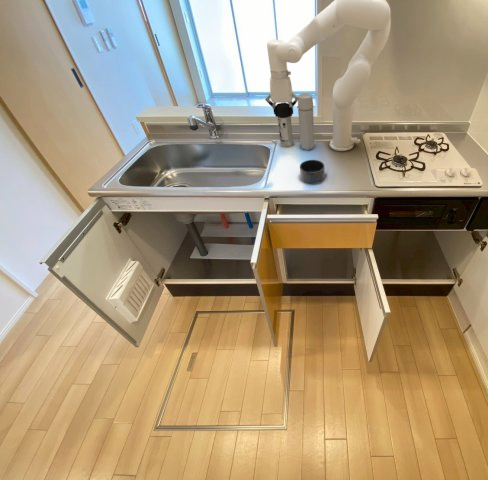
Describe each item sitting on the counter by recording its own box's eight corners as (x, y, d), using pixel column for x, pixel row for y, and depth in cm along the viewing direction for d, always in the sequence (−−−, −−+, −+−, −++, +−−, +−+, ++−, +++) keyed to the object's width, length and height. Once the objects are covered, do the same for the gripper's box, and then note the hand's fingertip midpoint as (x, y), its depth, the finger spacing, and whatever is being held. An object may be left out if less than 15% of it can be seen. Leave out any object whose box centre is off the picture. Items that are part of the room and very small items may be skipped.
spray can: (279, 142, 144) (274, 103, 129) (291, 140, 145) (287, 101, 131) (282, 148, 139) (277, 108, 125) (295, 145, 141) (291, 106, 127)
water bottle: (316, 149, 137) (314, 98, 119) (301, 151, 137) (297, 99, 119) (313, 141, 144) (311, 91, 126) (299, 143, 143) (295, 92, 125)
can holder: (324, 170, 124) (324, 159, 120) (324, 183, 116) (324, 172, 112) (301, 170, 124) (300, 160, 120) (300, 184, 117) (299, 173, 113)
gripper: (299, 71, 121) (301, 112, 134) (261, 72, 121) (267, 113, 134) (298, 76, 116) (301, 118, 129) (258, 77, 116) (265, 119, 129)
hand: (283, 115), depth 132 cm, fingers closed on spray can, 6 cm apart
